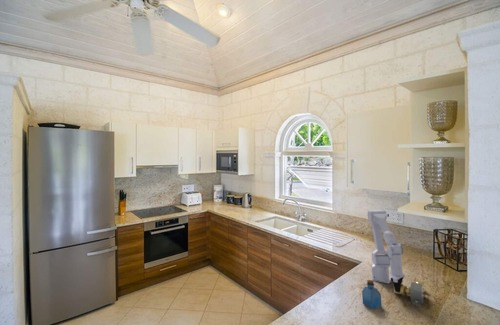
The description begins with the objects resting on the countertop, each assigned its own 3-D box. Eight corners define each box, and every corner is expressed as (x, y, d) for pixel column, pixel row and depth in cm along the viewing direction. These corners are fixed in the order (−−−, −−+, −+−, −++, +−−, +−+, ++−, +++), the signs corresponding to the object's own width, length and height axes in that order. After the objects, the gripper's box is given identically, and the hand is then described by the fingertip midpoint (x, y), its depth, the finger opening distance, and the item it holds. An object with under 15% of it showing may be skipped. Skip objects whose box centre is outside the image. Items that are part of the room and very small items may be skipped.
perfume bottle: (362, 303, 125) (361, 280, 126) (371, 300, 127) (369, 277, 128) (372, 309, 119) (370, 285, 120) (381, 306, 121) (379, 282, 122)
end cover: (393, 294, 131) (393, 284, 132) (395, 290, 135) (394, 281, 136) (412, 298, 126) (412, 288, 126) (413, 294, 130) (412, 284, 130)
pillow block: (410, 304, 122) (409, 291, 122) (412, 291, 135) (411, 279, 135) (422, 307, 119) (421, 293, 119) (423, 293, 132) (422, 281, 132)
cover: (414, 291, 134) (413, 283, 135) (413, 287, 139) (412, 279, 139) (425, 293, 132) (424, 285, 132) (424, 289, 136) (423, 281, 136)
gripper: (403, 271, 125) (405, 298, 124) (405, 263, 136) (407, 287, 136) (387, 269, 129) (389, 294, 128) (391, 260, 141) (393, 284, 140)
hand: (398, 290), depth 132 cm, fingers closed on end cover, 3 cm apart
